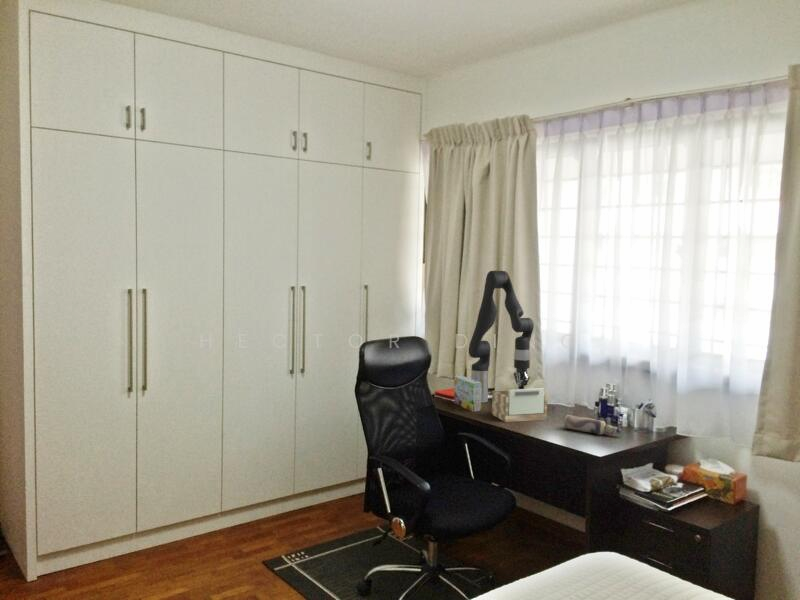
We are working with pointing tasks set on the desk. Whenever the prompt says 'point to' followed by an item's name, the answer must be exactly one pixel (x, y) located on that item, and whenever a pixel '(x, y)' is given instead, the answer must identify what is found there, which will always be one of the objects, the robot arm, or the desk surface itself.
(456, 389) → the snack box
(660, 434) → the desk surface
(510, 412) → the white rectangular panel
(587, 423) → the decorative bottle
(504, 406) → the beige open box
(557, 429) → the desk surface
